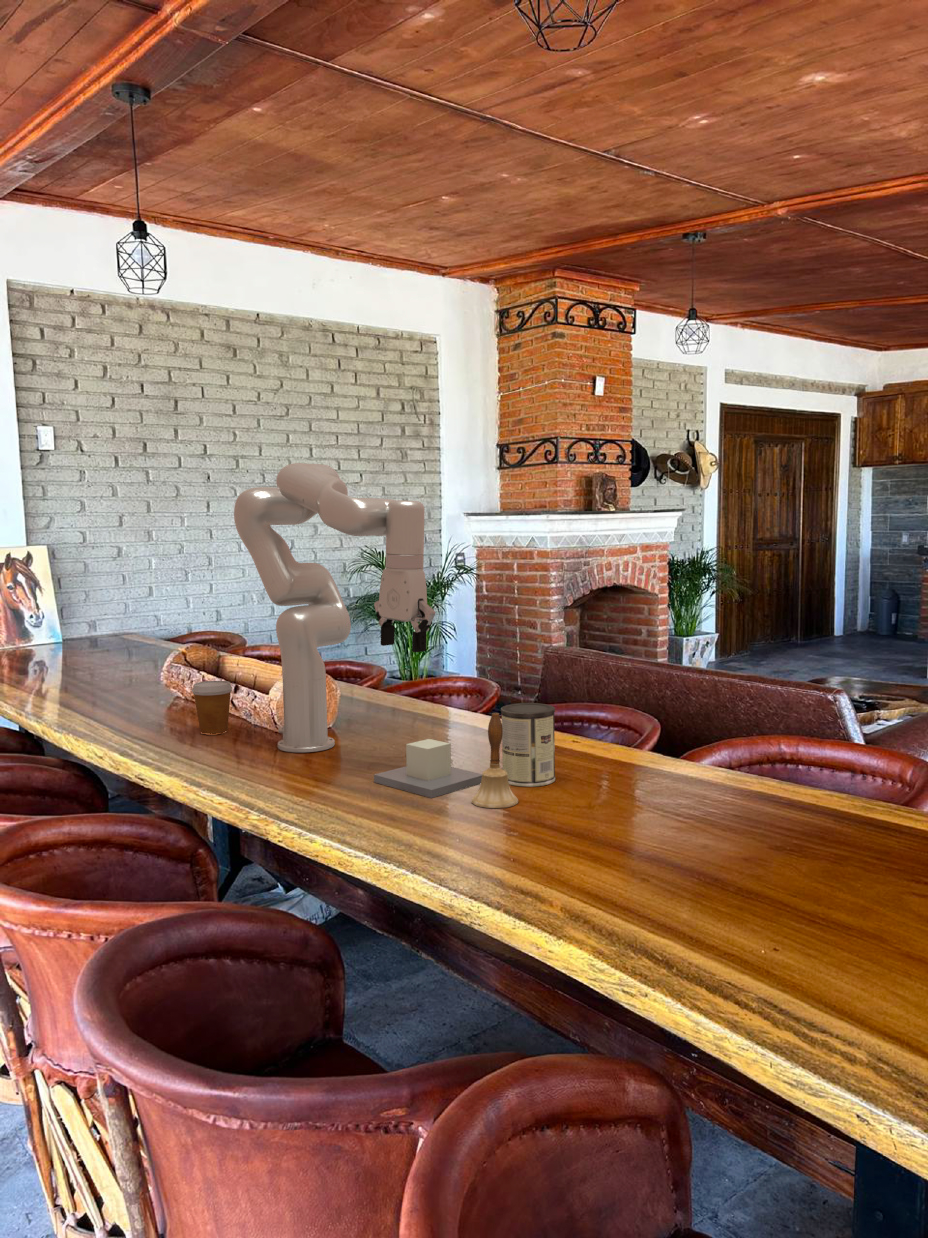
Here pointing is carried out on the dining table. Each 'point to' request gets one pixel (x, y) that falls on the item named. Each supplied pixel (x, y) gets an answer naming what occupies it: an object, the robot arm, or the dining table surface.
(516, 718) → the coffee can
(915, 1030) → the dining table surface
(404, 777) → the slate board
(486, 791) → the hand bell
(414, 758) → the cube
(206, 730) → the disposable coffee cup
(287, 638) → the robot arm
